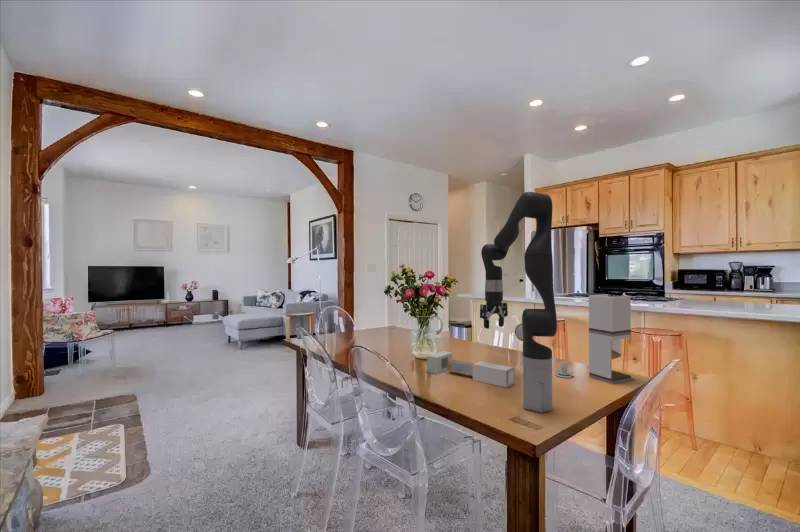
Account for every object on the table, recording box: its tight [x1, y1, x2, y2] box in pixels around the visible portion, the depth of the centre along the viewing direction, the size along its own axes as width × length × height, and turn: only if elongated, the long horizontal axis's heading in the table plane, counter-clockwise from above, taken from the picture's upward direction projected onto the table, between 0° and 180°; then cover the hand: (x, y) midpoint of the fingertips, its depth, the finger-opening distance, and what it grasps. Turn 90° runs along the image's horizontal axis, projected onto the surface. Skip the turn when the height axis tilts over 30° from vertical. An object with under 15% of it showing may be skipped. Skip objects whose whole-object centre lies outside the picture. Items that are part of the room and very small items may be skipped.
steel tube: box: [447, 358, 475, 376], centre depth 156 cm, size 4×26×4 cm, turn 49°
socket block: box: [426, 350, 453, 375], centre depth 168 cm, size 12×6×7 cm, turn 139°
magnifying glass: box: [514, 323, 523, 342], centre depth 175 cm, size 9×2×20 cm, turn 57°
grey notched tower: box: [588, 293, 632, 385], centre depth 153 cm, size 11×11×35 cm
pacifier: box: [555, 360, 574, 379], centre depth 157 cm, size 7×6×6 cm
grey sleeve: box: [472, 360, 515, 389], centre depth 150 cm, size 6×16×7 cm, turn 49°
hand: (494, 327), depth 158 cm, fingers open, 8 cm apart
